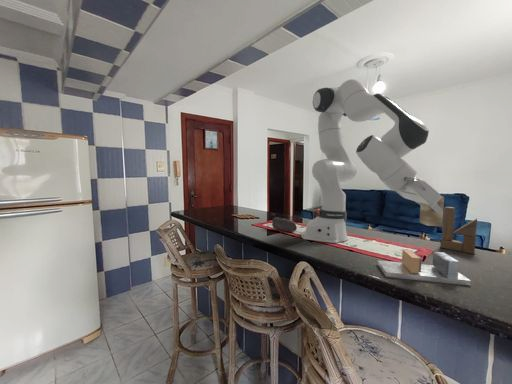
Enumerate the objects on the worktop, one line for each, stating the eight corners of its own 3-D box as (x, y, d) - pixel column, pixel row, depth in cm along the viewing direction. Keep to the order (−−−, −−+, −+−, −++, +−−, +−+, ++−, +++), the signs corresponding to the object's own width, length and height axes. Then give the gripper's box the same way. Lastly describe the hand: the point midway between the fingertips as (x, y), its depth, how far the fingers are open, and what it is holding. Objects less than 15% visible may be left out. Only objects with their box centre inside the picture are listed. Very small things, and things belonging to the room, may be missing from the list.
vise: (386, 276, 71) (387, 256, 71) (377, 264, 81) (378, 246, 80) (470, 285, 66) (472, 263, 65) (450, 271, 75) (452, 252, 75)
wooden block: (474, 254, 92) (477, 210, 90) (440, 248, 99) (443, 207, 98) (474, 252, 94) (478, 209, 93) (441, 246, 102) (444, 206, 100)
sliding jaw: (411, 272, 70) (412, 257, 70) (401, 262, 78) (402, 249, 77) (420, 273, 69) (422, 258, 69) (410, 263, 77) (411, 249, 77)
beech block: (426, 225, 69) (428, 196, 69) (419, 222, 74) (421, 194, 73) (442, 226, 68) (444, 196, 68) (433, 222, 73) (435, 195, 72)
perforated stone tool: (298, 232, 125) (299, 219, 124) (293, 234, 121) (294, 221, 120) (276, 227, 135) (276, 216, 134) (271, 229, 131) (271, 217, 130)
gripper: (423, 170, 62) (463, 207, 60) (396, 170, 81) (426, 199, 80) (403, 186, 63) (442, 222, 61) (382, 183, 83) (411, 210, 81)
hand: (433, 209), depth 71 cm, fingers closed on beech block, 5 cm apart
